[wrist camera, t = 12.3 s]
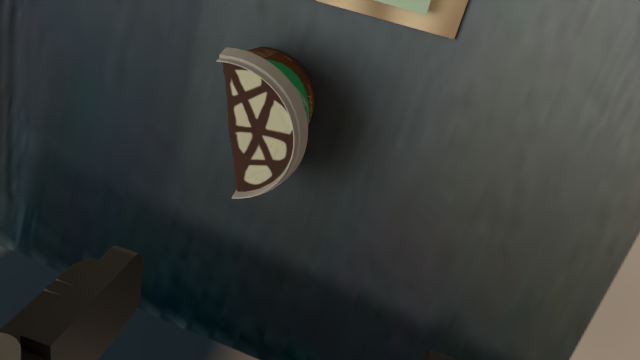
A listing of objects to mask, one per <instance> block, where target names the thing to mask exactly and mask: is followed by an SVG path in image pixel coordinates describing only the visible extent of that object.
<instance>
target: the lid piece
mask: <svg viewBox="0 0 640 360" xmlns="http://www.w3.org/2000/svg"><path fill="white" fill-rule="evenodd" d="M374 1H378V2H381V3H385V4H388V5H392V6H395V7H399V8H402V9H406V10H409V11H413V12H416V13H420V14H423V15H426V14H427V10H428V7H429V4H430V1H431V0H374Z"/></svg>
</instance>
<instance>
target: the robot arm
mask: <svg viewBox="0 0 640 360" xmlns="http://www.w3.org/2000/svg"><path fill="white" fill-rule="evenodd" d="M142 268H143V256H142V254H140V253H137V252H134V251H131V250H128V249H125V248H122V247H119V246H113V247H112V248H110V249H109V250H108V251H107V252H106V253H105V254H104V255H103V256H102V257H101V258H100V259H99V260H96V259H93V258H90V257H89V258H87V259H85V260H82V261H80V262H78V263H76V264H74V265H71V266H70V267H69V268H68V269H66V270H65V271H64V272H63V273H62V274H61V275H60V276H59V277H58V278H57V279H56V281H53V282H52V283H51V284H50V285H49V286H48V287H47V288H46V289H45V291H44V292H41V293H40V294H39V295H38V296H36V297H35V298H34V299H33V300H32V301H31V302H30V303H29V304H28V305H27V306H25V308H23V309H22V310H21V311H20V312H19V313H18V314H17V315H16V316H14V317H13V318H12V319H11V320H10V321H9V322H8V323H7V324H5V325H4V326H3V327H2V328H1V329H0V360H97V359H98V358H99V357H100V355H102V353H103V352H104V351H105V349H106V348H107V347H108V346H109V345H110V343H111V342H112V341H113V339H114V338H115V337H116V336H117V335H118V333H119V332H120V331H121V330H122V328H123V327H124V326H125V325H126V323H127V322H128V321H129V320H130V318H131V316H132V315H133V314H134V312H135V310H136V308H137V305H138V303H139V299H140V292H141V280H142ZM422 360H456V359H455V358H452V357H449V356H446V355H443V354H440V353H437V352H434V351H431V350H426V352H425V353H424V355H423V357H422Z"/></svg>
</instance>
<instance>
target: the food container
mask: <svg viewBox="0 0 640 360" xmlns="http://www.w3.org/2000/svg"><path fill="white" fill-rule="evenodd" d="M219 56H220V58H219V59H218V60H216V61H217V62H223V71H224V75H225V82H226V92H227V105H228V124H229V135H230V141H231V147H232V153H233V159H234V168H235V178H236V187H237V190H236V192H235V193H234V195H233V196H232V199H236V198H248V197H253V196H257V195H260V194H263V193H266V192H268V191H270V190H272V189H273V188H275V187H276V186H278V185H279V184H281V183H282V182H283V181H285V180H286V179H287V178H288V177H289V176H290V175H291V174H292V173H293V172H294V171H295V170H296V168H297V167H298V165H299V164H300V162H301V160H302V158H303V155H304V153H305V150H306V146H307V141H308V125H309V123H310V120H311V118H312V115H313V111H314V107H315V95H314V89H313V86H312V83H311V80H310V78H309V76H308V75H307V73H306V72H305V70H304V69H303V68H302V66H301V65H300V64H299V63H298V62H297V61H295V60H294V59H293V58H292V57H290V56H288V55H287V54H285V53H283V52H281V51H278V50H275V49H271V48H264V47H259V48H255V49H251V50H248V51H244V50H241V49H236V48H227V47H226V48H225V49H224V50H223V51H222V52H221V54H220V55H219Z"/></svg>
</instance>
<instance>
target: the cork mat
mask: <svg viewBox="0 0 640 360" xmlns="http://www.w3.org/2000/svg"><path fill="white" fill-rule="evenodd" d="M316 1H319V2H323V3H326V4H330V5H333V6H337V7H340V8H344V9H347V10H351V11H355V12H358V13H362V14H365V15H369V16H372V17H376V18H380V19H383V20H387V21H390V22H394V23H397V24H401V25H405V26H408V27H412V28H415V29H419V30H422V31H426V32H430V33H433V34H437V35H440V36H444V37H447V38H451V39H455V36H456V33H457V30H458V27H459V25H460V22H461V19H462V16H463V13H464V10H465V8H466V5H467V2H468V0H431V1H430V4H429V7H428V10H427V14H426V15H423V14H420V13H416V12H413V11H409V10H406V9H402V8H399V7H395V6H392V5H388V4H385V3H381V2H378V1H374V0H316Z"/></svg>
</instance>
